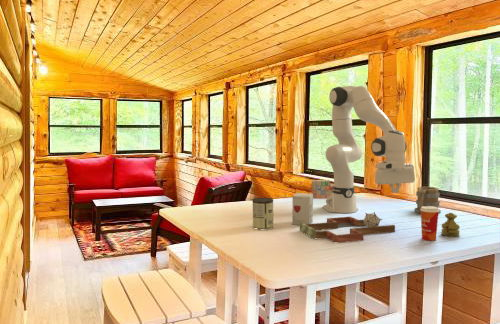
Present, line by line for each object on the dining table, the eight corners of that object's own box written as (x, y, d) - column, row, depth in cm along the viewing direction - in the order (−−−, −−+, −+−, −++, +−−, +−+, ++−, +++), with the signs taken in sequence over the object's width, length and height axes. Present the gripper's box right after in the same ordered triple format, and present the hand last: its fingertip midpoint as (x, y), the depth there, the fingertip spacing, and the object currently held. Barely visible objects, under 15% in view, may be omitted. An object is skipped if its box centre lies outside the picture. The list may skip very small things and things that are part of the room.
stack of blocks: (342, 197, 292) (342, 179, 291) (343, 199, 286) (343, 181, 285) (311, 197, 294) (311, 179, 293) (311, 198, 288) (311, 180, 287)
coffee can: (256, 224, 214) (256, 197, 213) (275, 226, 211) (275, 198, 210) (249, 229, 205) (249, 200, 204) (270, 230, 201) (269, 201, 200)
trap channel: (293, 227, 209) (293, 219, 208) (367, 220, 220) (367, 213, 220) (321, 244, 178) (321, 234, 178) (406, 235, 190) (406, 227, 190)
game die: (375, 237, 202) (383, 223, 196) (358, 230, 203) (365, 216, 197) (377, 224, 209) (385, 211, 202) (360, 218, 210) (368, 204, 204)
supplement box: (291, 224, 213) (291, 195, 212) (296, 220, 222) (296, 192, 221) (309, 226, 210) (309, 196, 209) (313, 222, 219) (313, 193, 217)
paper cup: (416, 237, 188) (417, 206, 187) (432, 236, 189) (433, 205, 187) (424, 241, 180) (425, 209, 179) (442, 241, 181) (443, 209, 180)
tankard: (421, 209, 250) (421, 183, 249) (443, 212, 241) (443, 185, 240) (405, 214, 236) (406, 187, 235) (428, 217, 227) (429, 189, 226)
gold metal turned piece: (458, 237, 186) (459, 215, 185) (440, 235, 190) (440, 213, 189) (460, 234, 192) (461, 212, 192) (442, 232, 196) (443, 210, 196)
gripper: (409, 163, 210) (409, 190, 211) (373, 164, 204) (373, 193, 205) (417, 163, 204) (417, 192, 205) (381, 165, 198) (380, 194, 199)
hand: (395, 192), depth 205 cm, fingers closed
